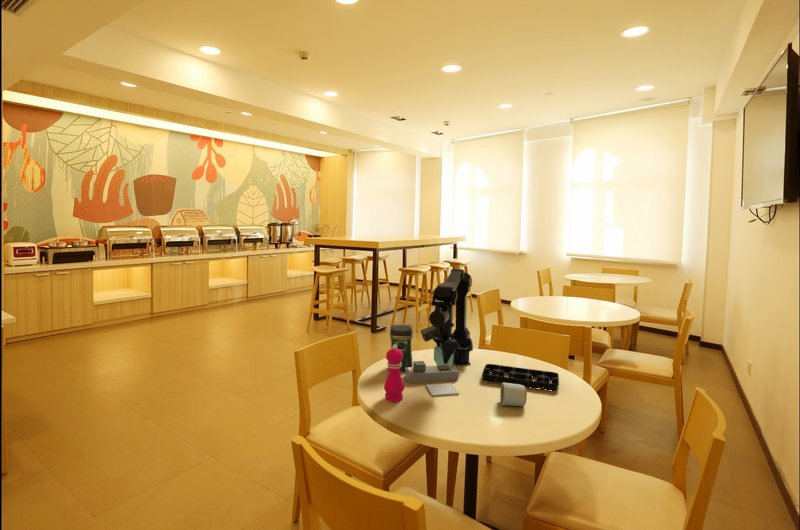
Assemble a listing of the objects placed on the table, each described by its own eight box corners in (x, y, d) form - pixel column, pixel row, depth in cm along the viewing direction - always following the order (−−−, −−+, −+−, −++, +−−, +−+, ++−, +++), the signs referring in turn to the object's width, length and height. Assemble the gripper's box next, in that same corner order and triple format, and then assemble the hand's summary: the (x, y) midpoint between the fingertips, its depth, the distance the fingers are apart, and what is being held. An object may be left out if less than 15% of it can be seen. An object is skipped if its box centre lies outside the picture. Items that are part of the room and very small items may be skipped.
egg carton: (480, 371, 191) (480, 362, 190) (554, 375, 188) (554, 366, 187) (482, 388, 174) (483, 379, 173) (564, 393, 171) (565, 384, 170)
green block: (447, 363, 173) (448, 345, 172) (452, 369, 167) (453, 350, 166) (433, 364, 172) (434, 346, 171) (437, 370, 166) (438, 351, 165)
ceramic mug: (526, 410, 156) (528, 388, 155) (502, 409, 157) (503, 387, 156) (520, 396, 167) (521, 376, 166) (497, 396, 167) (498, 375, 166)
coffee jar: (412, 364, 196) (413, 322, 193) (412, 372, 188) (413, 328, 185) (390, 364, 196) (390, 322, 193) (388, 371, 188) (389, 327, 186)
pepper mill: (389, 404, 159) (390, 349, 155) (380, 396, 165) (380, 343, 162) (407, 400, 162) (408, 346, 159) (398, 392, 168) (399, 340, 165)
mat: (451, 384, 176) (451, 383, 176) (458, 394, 167) (458, 393, 167) (426, 386, 174) (426, 384, 174) (432, 396, 166) (432, 394, 165)
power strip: (452, 372, 188) (453, 357, 187) (458, 379, 181) (458, 364, 180) (404, 375, 184) (405, 360, 183) (408, 382, 177) (408, 366, 176)
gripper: (417, 313, 174) (416, 353, 177) (429, 328, 156) (428, 371, 159) (445, 312, 176) (444, 351, 179) (460, 326, 158) (459, 369, 161)
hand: (443, 360), depth 169 cm, fingers closed on green block, 6 cm apart
